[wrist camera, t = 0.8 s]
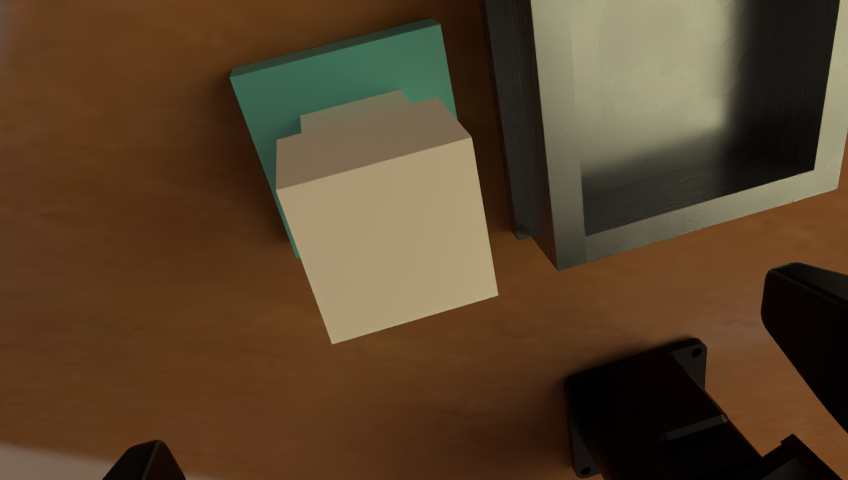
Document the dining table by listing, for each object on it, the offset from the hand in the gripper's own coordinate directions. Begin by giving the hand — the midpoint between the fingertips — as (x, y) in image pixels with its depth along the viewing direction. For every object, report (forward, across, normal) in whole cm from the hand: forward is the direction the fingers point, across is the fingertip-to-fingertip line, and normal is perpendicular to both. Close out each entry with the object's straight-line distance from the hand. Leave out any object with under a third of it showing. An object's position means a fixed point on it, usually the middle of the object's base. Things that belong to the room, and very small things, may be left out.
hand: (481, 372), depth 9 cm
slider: (+12, +1, 0) cm, 12 cm away
